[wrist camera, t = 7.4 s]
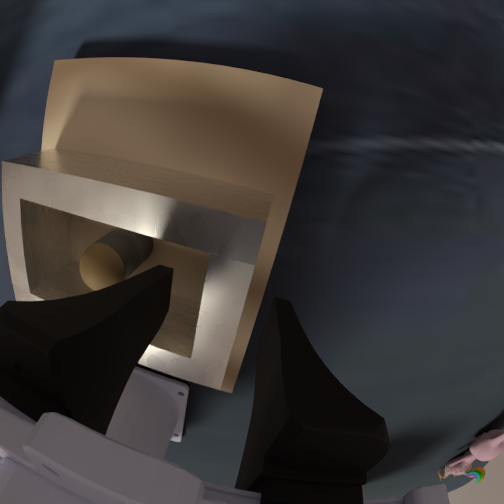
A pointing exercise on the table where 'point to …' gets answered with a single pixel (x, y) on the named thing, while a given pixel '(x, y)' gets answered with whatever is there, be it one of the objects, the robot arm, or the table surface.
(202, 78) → the board
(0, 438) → the robot arm
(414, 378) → the table surface
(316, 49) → the table surface
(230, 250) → the beige hollow boxy piece
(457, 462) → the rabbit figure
